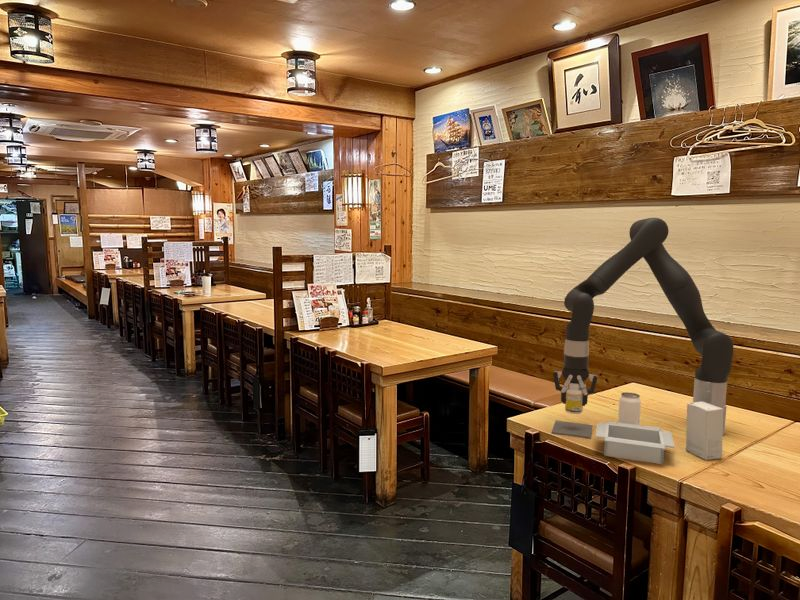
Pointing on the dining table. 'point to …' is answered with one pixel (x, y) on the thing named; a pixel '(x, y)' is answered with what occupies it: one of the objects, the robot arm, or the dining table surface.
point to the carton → (634, 441)
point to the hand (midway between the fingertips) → (573, 404)
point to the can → (629, 408)
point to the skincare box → (704, 430)
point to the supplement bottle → (574, 399)
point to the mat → (572, 429)
